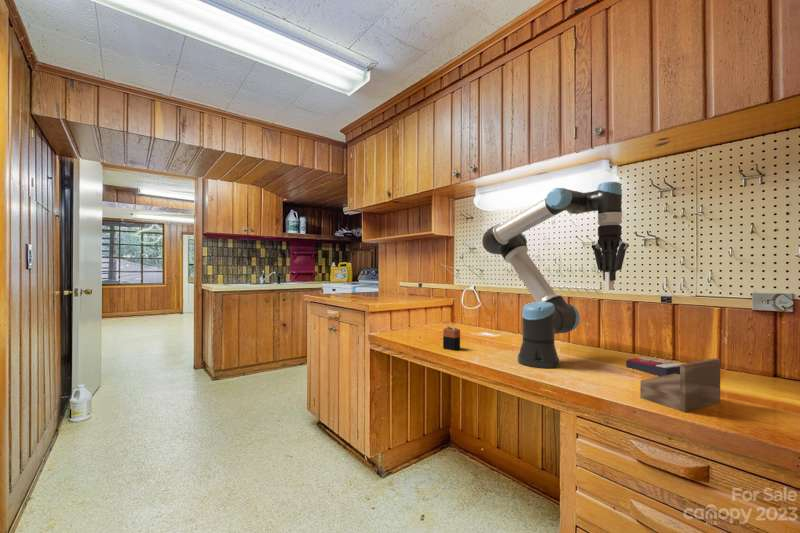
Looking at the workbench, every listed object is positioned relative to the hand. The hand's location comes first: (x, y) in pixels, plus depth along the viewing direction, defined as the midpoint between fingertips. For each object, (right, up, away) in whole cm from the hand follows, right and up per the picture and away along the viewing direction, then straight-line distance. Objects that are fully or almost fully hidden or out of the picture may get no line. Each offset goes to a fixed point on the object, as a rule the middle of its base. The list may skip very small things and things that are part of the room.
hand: (609, 289), depth 129 cm
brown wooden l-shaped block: (+3, -29, -29) cm, 41 cm away
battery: (-53, -29, +33) cm, 69 cm away
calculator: (+17, -30, 0) cm, 35 cm away
